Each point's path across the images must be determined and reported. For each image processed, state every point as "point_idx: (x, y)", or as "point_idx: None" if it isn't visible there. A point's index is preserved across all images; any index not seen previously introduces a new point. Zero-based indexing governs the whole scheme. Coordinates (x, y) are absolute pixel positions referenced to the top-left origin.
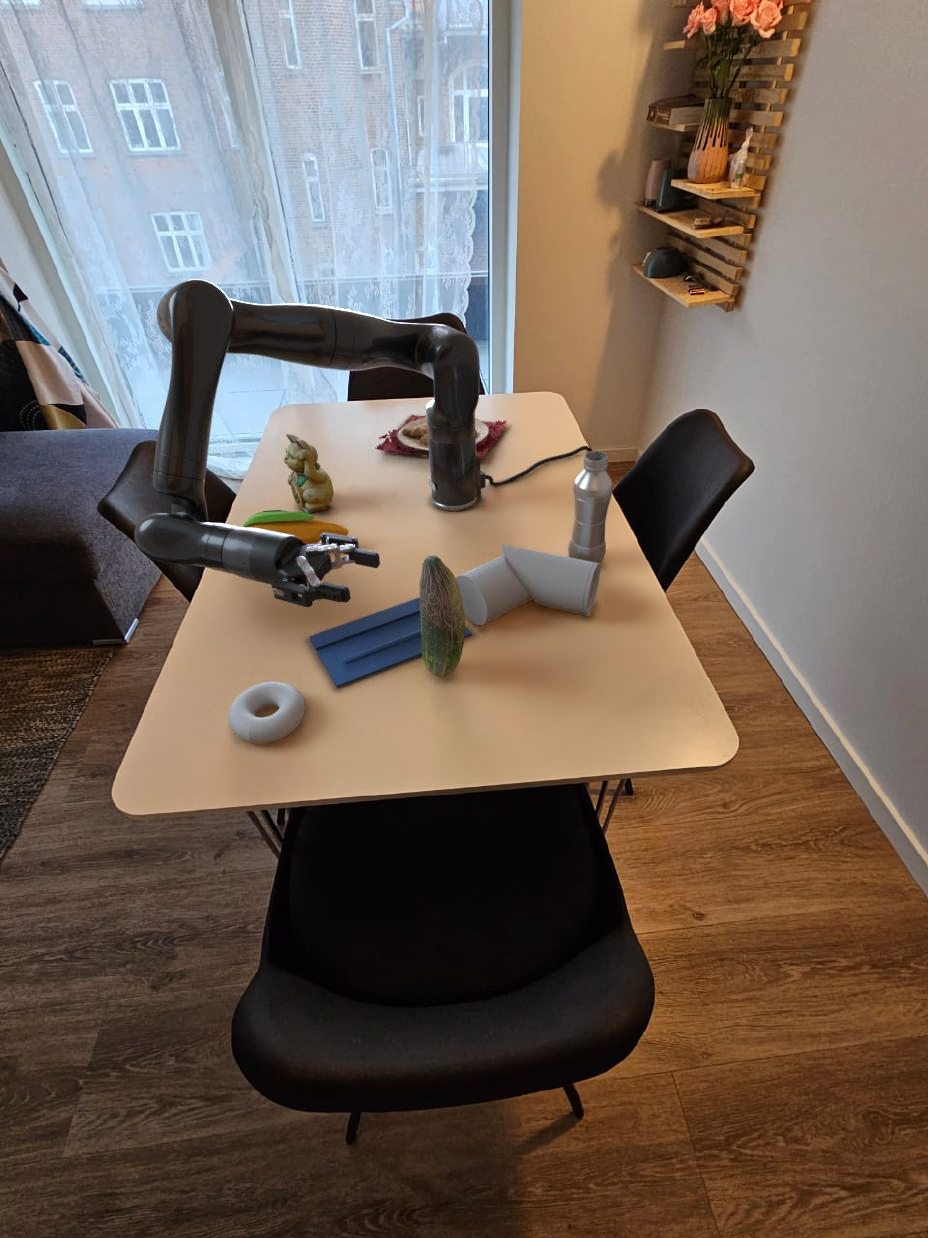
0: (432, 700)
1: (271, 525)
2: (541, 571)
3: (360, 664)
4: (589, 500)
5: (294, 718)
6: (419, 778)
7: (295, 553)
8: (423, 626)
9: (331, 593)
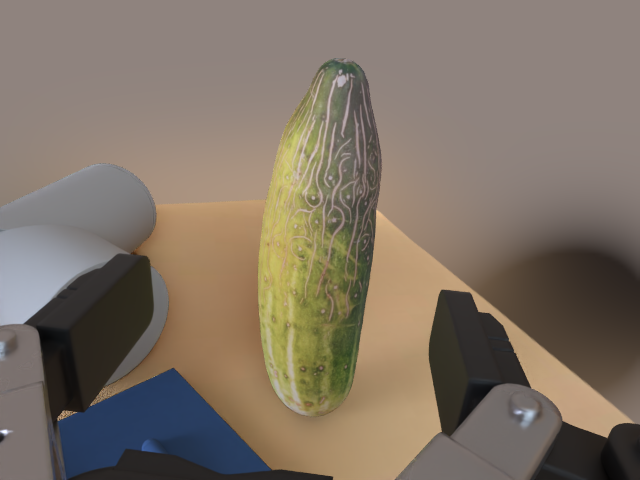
0: (398, 407)
1: None
2: (86, 206)
3: None
4: None
5: None
6: (580, 392)
7: None
8: (359, 279)
9: (510, 351)
